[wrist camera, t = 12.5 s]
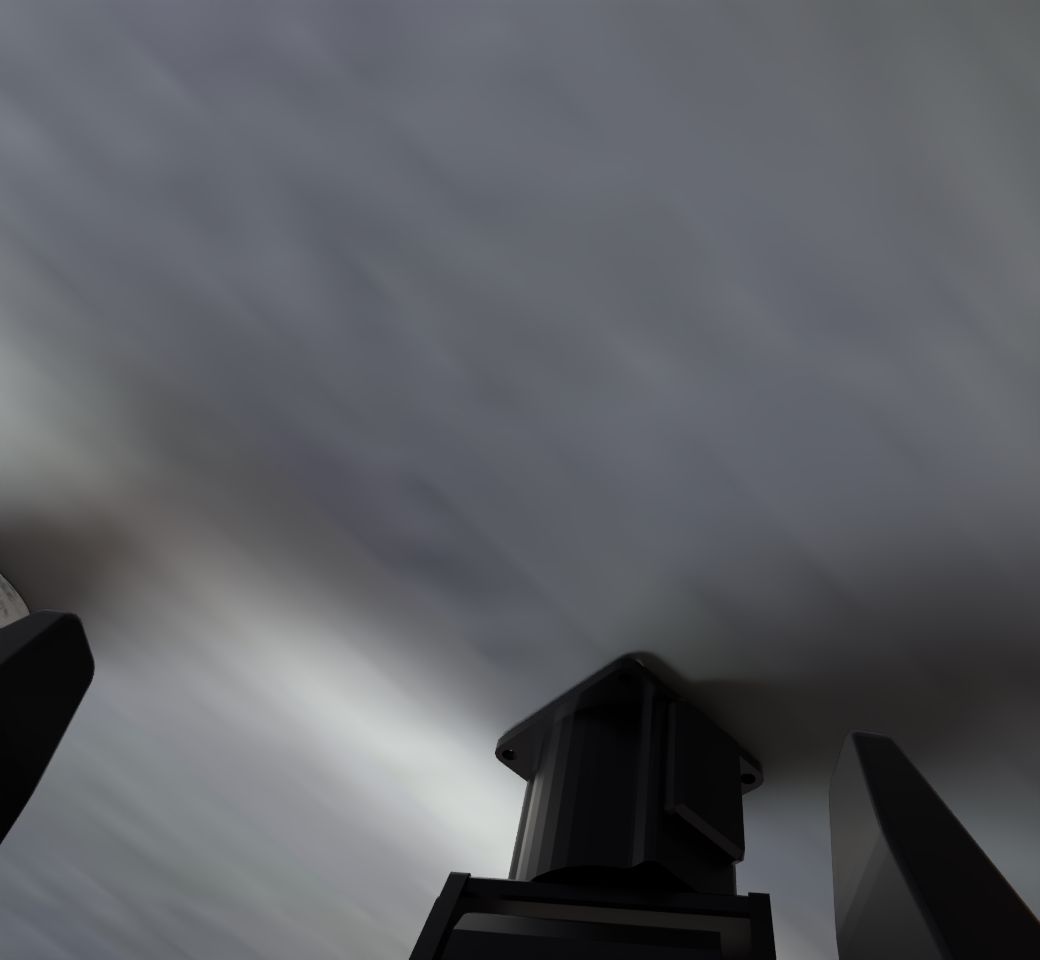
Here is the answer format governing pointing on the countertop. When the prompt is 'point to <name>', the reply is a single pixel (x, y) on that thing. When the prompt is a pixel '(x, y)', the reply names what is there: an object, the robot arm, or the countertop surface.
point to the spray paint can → (10, 604)
